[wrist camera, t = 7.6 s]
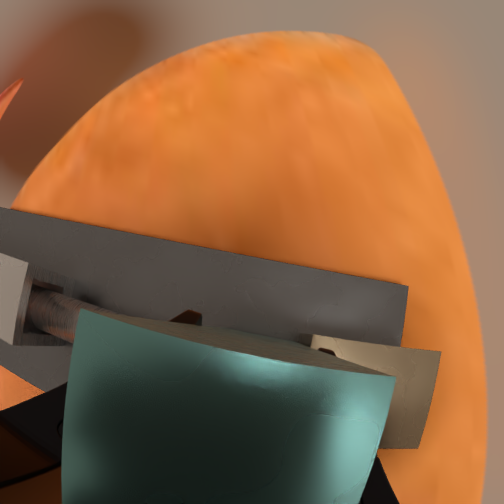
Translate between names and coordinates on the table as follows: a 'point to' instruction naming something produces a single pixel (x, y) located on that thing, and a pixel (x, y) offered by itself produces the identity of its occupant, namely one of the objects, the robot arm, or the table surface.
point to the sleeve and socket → (206, 304)
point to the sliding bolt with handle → (207, 412)
